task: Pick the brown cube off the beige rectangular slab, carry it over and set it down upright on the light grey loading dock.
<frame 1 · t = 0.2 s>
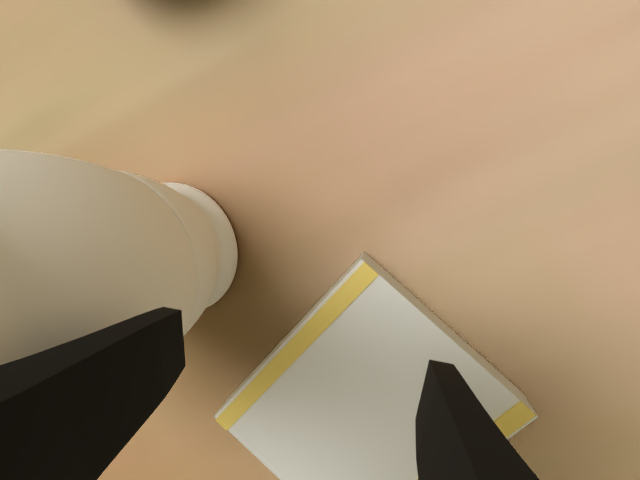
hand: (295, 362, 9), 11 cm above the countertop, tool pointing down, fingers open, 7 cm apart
dock: (361, 395, 21), on the countertop
jar: (183, 247, 22), on the countertop
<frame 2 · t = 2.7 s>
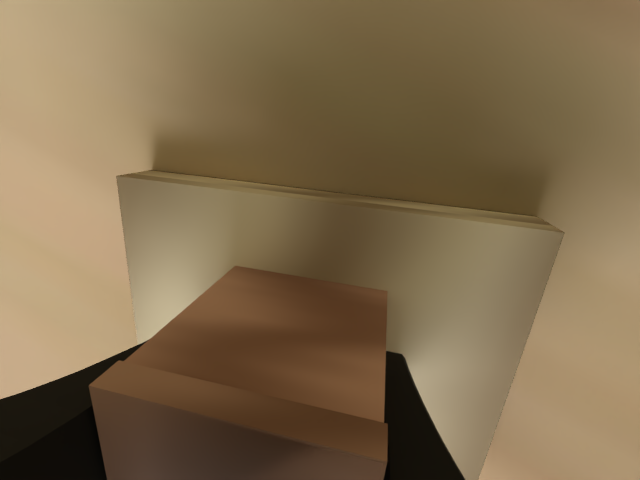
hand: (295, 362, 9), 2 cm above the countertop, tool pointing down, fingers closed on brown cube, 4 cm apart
brown cube: (303, 343, 10), point 1 cm above the countertop, touching gripper, beige rectangular slab
beige rectangular slab: (314, 317, 11), on the countertop
when the fingers open (4 cm above the countertop, at t = 6.0 s): brown cube stays where it is, resting on dock.
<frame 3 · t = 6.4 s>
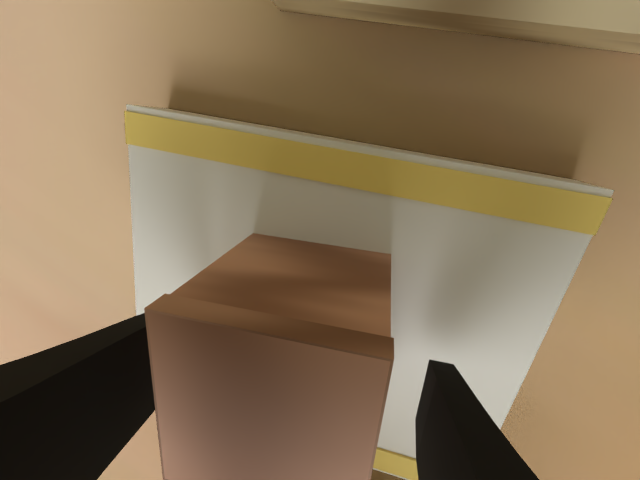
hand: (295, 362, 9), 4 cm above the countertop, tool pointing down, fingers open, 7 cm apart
dock: (324, 293, 13), on the countertop
brown cube: (313, 305, 11), point 2 cm above the countertop, touching dock
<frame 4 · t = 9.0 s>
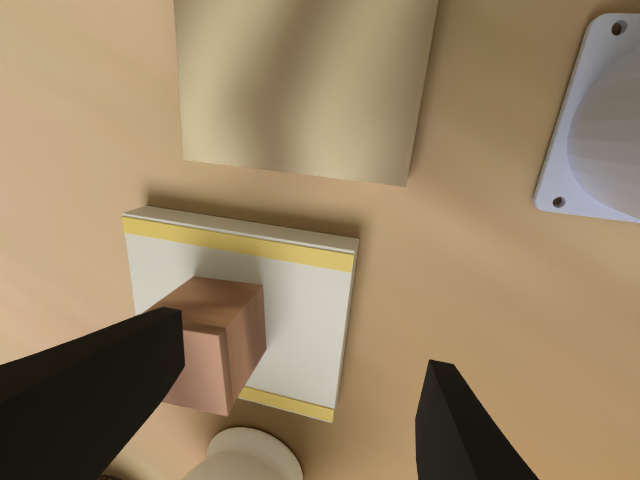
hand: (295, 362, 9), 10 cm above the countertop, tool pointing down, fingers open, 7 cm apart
dock: (245, 305, 22), on the countertop
brown cube: (230, 313, 20), point 2 cm above the countertop, touching dock
beige rectangular slab: (300, 79, 17), on the countertop
jar: (256, 461, 27), on the countertop
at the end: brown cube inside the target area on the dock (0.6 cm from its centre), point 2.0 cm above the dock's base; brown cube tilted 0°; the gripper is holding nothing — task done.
